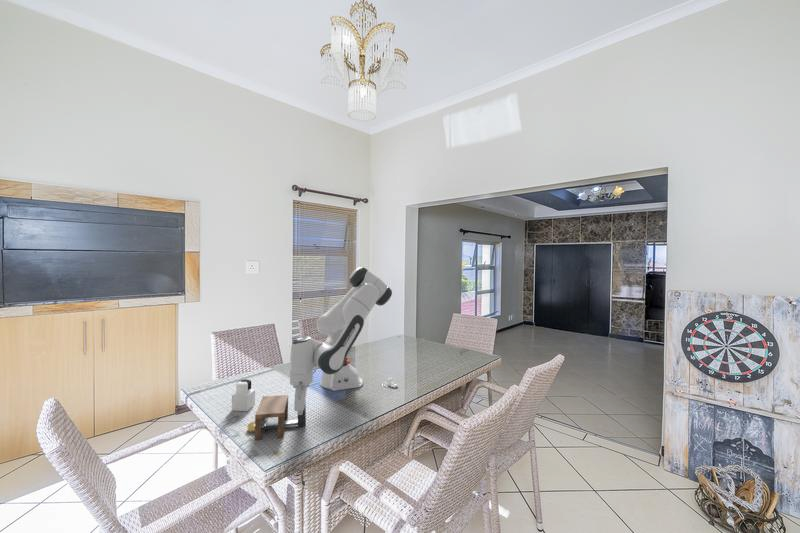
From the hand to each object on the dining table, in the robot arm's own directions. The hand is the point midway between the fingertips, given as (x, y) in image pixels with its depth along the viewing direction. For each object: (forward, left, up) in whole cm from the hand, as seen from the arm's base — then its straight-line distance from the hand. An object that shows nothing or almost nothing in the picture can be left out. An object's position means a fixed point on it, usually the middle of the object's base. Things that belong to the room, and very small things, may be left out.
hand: (300, 411), depth 134 cm
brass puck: (+17, 0, -6) cm, 18 cm away
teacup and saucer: (-42, -34, -6) cm, 54 cm away
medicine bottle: (+26, -20, -6) cm, 33 cm away
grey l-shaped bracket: (+6, 0, -5) cm, 8 cm away
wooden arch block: (+11, 0, -6) cm, 12 cm away
